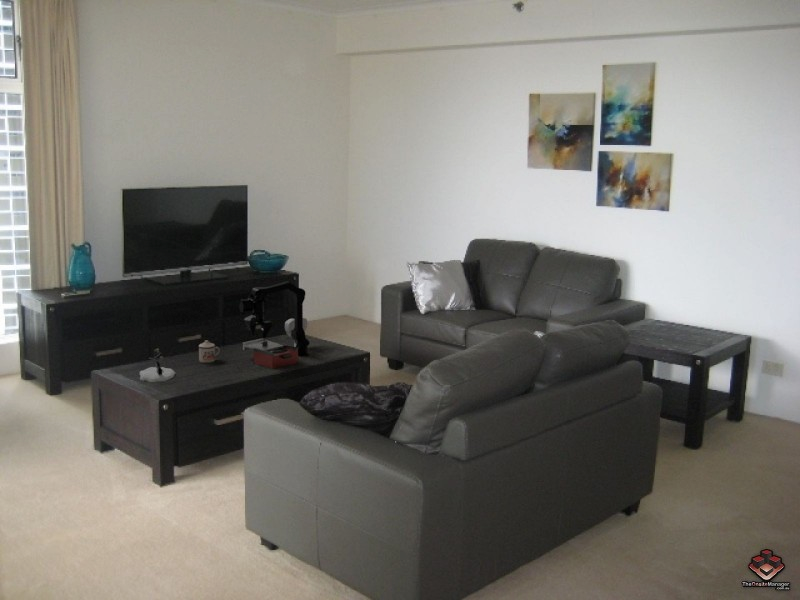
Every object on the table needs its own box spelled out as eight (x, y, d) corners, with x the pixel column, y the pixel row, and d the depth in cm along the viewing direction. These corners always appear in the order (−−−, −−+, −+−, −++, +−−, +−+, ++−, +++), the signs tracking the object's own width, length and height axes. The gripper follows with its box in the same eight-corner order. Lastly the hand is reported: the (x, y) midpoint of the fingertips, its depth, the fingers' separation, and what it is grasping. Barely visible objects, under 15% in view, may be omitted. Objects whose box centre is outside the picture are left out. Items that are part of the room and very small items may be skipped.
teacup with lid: (202, 363, 483) (202, 343, 481) (196, 360, 491) (195, 339, 488) (222, 360, 490) (222, 340, 488) (216, 357, 497) (216, 337, 495)
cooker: (279, 356, 501) (279, 342, 499) (300, 363, 489) (300, 348, 488) (253, 362, 488) (253, 348, 486) (275, 369, 476) (275, 354, 474)
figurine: (143, 369, 468) (142, 340, 463) (177, 369, 469) (176, 341, 464) (135, 383, 449) (133, 354, 444) (171, 384, 450) (170, 355, 445)
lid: (264, 344, 507) (264, 336, 505) (284, 350, 495) (284, 341, 494) (243, 349, 495) (242, 340, 494) (263, 355, 484) (263, 346, 482)
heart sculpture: (302, 344, 530) (302, 315, 526) (308, 345, 527) (308, 316, 523) (283, 349, 518) (283, 319, 514) (289, 350, 515) (289, 321, 511)
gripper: (236, 309, 486) (236, 336, 489) (258, 315, 474) (258, 342, 478) (251, 306, 494) (251, 333, 498) (273, 311, 483) (273, 339, 486)
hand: (258, 337), depth 489 cm, fingers open, 9 cm apart
